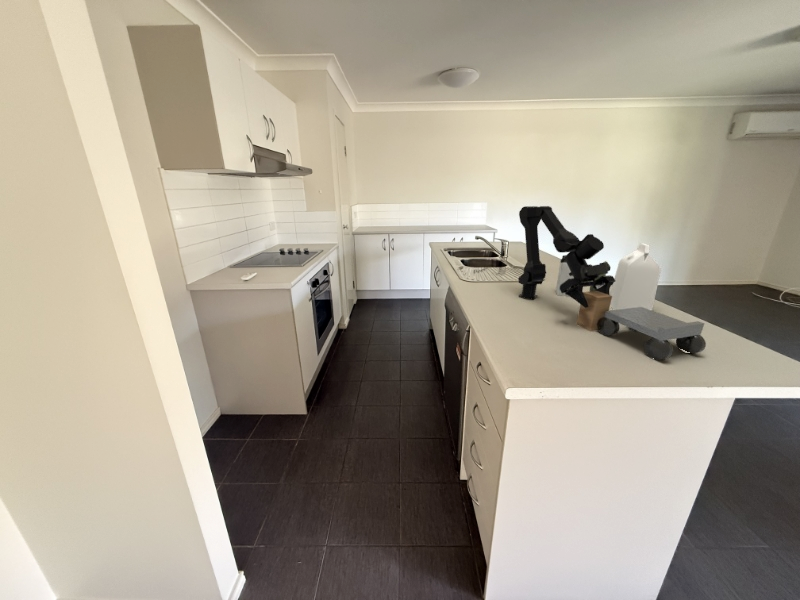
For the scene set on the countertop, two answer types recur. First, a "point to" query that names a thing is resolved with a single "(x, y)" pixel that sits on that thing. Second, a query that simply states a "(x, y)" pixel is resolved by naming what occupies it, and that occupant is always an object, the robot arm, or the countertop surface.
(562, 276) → the skincare box
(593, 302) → the block
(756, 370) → the countertop surface
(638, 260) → the milk
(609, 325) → the trolley
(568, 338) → the countertop surface
